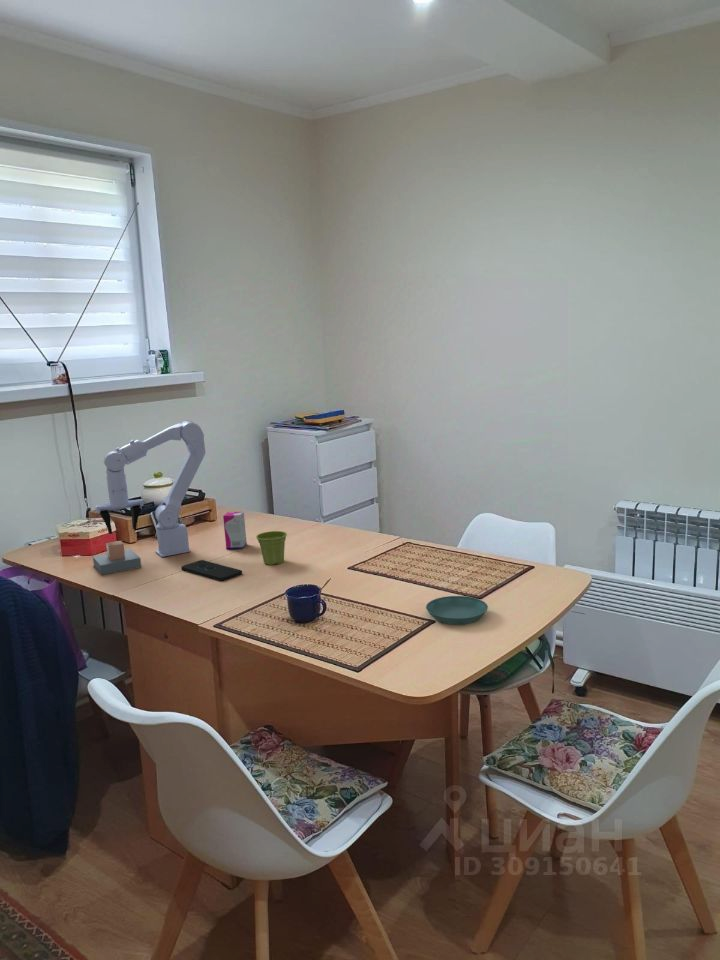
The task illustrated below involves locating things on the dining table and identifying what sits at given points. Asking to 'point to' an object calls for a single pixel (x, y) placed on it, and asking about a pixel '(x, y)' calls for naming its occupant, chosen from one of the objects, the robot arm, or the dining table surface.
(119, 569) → the base board
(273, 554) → the plant pot
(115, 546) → the pale pink cube
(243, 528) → the supplement box
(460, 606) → the saucer
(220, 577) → the smart home device
